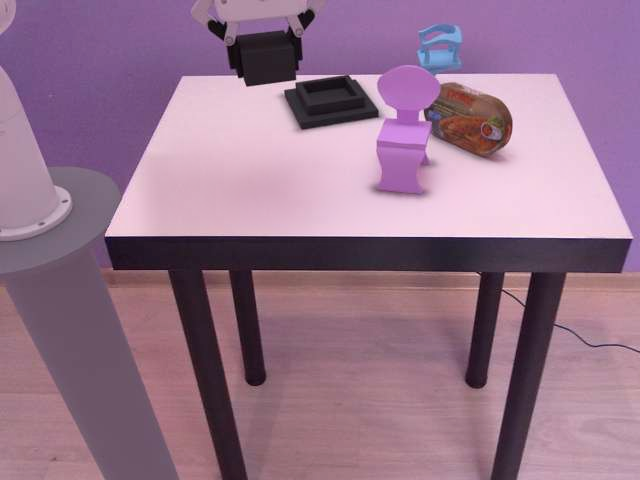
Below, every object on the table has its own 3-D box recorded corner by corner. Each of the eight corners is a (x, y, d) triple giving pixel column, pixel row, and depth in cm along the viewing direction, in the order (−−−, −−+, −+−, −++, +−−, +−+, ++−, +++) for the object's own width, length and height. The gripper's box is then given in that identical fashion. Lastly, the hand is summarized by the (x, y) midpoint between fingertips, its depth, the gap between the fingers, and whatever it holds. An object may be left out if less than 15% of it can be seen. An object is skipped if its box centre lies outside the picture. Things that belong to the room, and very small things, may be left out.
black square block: (246, 87, 73) (241, 53, 70) (239, 67, 77) (234, 35, 75) (296, 80, 74) (293, 47, 71) (286, 61, 78) (283, 29, 76)
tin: (420, 129, 98) (423, 78, 92) (434, 123, 99) (437, 72, 94) (498, 165, 89) (506, 110, 84) (511, 157, 91) (520, 103, 85)
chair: (409, 89, 109) (411, 19, 102) (456, 86, 109) (462, 17, 102) (414, 108, 103) (417, 36, 96) (464, 106, 103) (471, 34, 96)
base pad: (301, 129, 99) (299, 112, 97) (284, 96, 108) (282, 79, 107) (378, 116, 101) (378, 99, 100) (355, 85, 111) (355, 69, 109)
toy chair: (368, 190, 85) (367, 86, 75) (380, 158, 91) (381, 58, 82) (429, 197, 83) (436, 91, 74) (437, 163, 90) (444, 62, 80)
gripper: (164, -85, 59) (197, 92, 71) (338, -99, 63) (343, 73, 74) (160, -100, 65) (192, 67, 76) (321, -112, 68) (328, 50, 80)
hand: (266, 68), depth 75 cm, fingers closed on black square block, 6 cm apart
